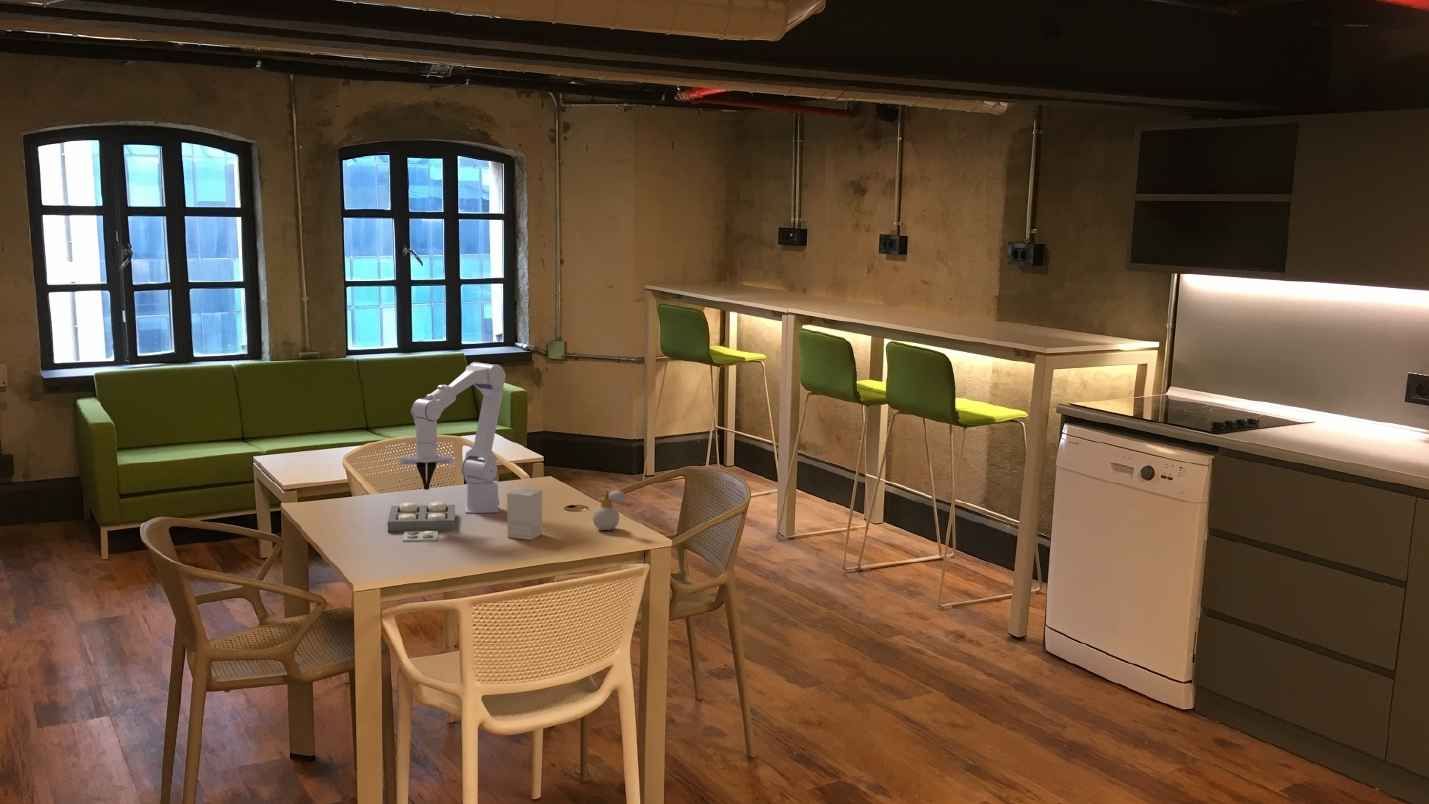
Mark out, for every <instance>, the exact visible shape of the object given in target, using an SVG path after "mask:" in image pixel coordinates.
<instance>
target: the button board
mask: <svg viewBox="0 0 1429 804" xmlns="http://www.w3.org/2000/svg"><path fill="white" fill-rule="evenodd" d="M389 511H390V512H389V515H388V519H387V533H404V531H433V530H438V532H454V531H456V530H455V528H456V527H455V526H456V505H455V504H446V512H429V504H428V505H427V504H426V505H425V504H424V505H423V504H422V505H421V504H420V505H417V512H407V513H400V505H391V507H390V510H389ZM432 513H442V514H445V519H428V515H429V514H432ZM401 514H415V515H416V519H410V520H398V516H399V515H401Z"/></svg>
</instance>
